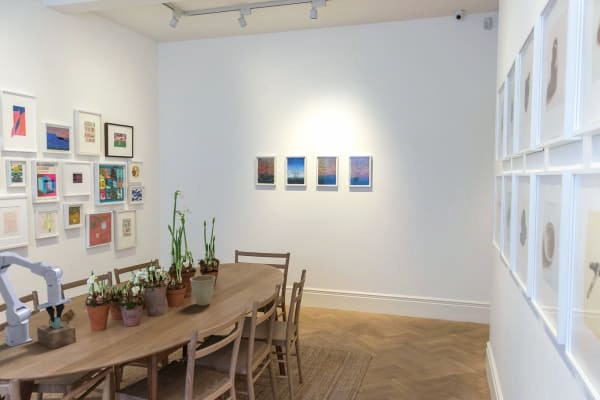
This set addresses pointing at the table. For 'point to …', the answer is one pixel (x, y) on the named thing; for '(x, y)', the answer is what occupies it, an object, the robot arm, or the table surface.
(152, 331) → the table surface
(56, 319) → the cylinder
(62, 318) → the lion figurine
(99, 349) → the table surface
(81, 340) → the table surface
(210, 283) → the plant pot
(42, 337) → the box
